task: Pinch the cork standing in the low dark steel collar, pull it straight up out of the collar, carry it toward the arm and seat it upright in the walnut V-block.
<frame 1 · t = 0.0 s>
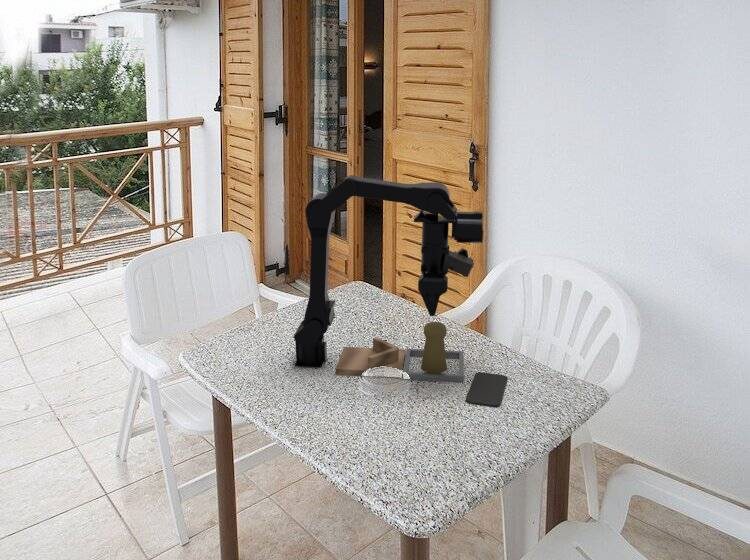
hand: (432, 308, 162), 15 cm above the table, fingers open, 9 cm apart
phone: (487, 391, 157), on the table
walnut v-block: (367, 364, 168), on the table
cork: (433, 368, 167), resting in steel collar
steel collar: (433, 367, 167), on the table
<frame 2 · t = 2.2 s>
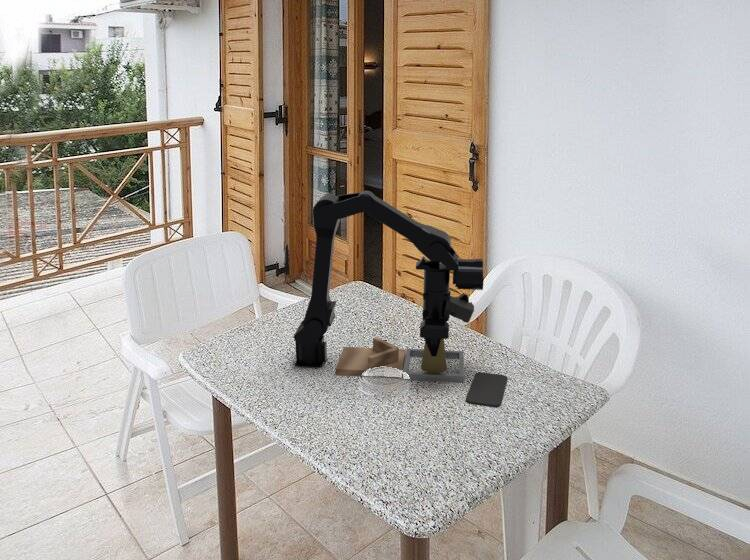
hand: (434, 351, 165), 4 cm above the table, fingers closed on cork, 4 cm apart
cork: (433, 368, 167), resting in steel collar, touching gripper
everything else where it was.
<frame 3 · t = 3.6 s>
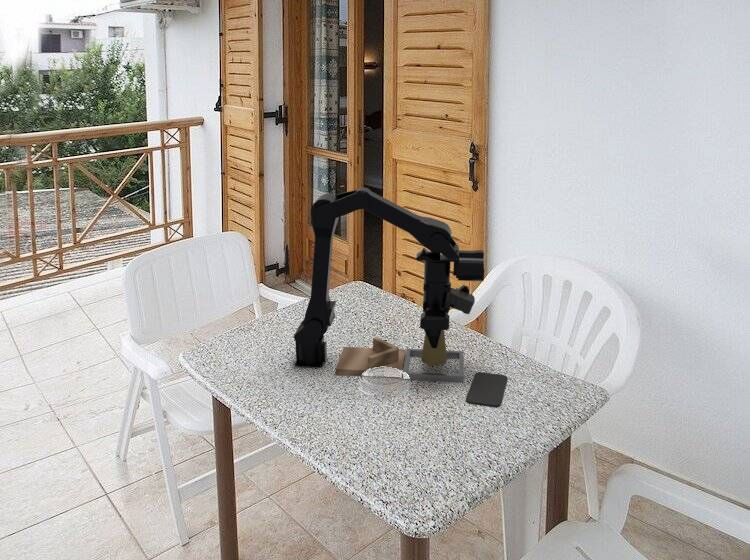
hand: (434, 343, 165), 6 cm above the table, fingers closed on cork, 4 cm apart
cork: (434, 360, 166), point 2 cm above the table, touching gripper
everything else where it was.
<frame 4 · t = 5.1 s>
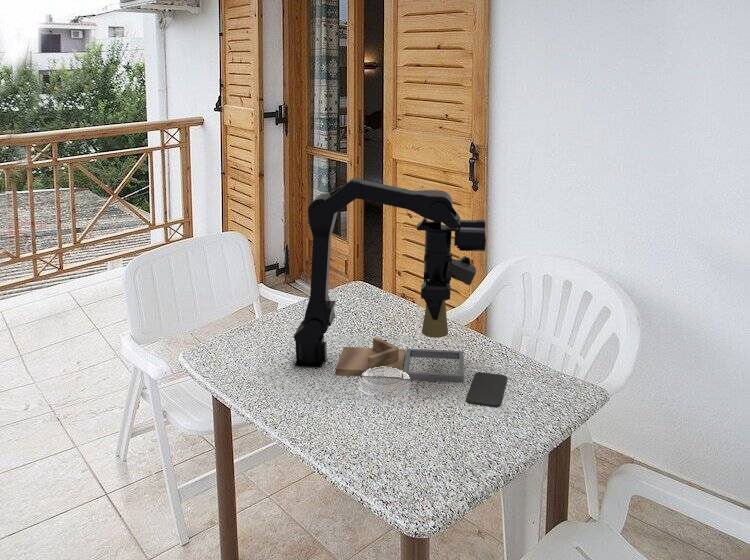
hand: (435, 316, 162), 13 cm above the table, fingers closed on cork, 4 cm apart
cork: (434, 333, 164), point 9 cm above the table, touching gripper
everything else where it was.
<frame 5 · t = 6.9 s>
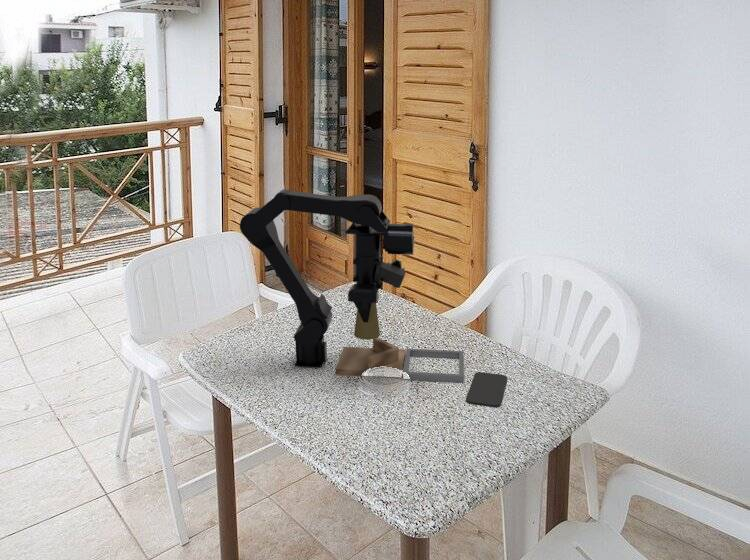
hand: (366, 318, 164), 12 cm above the table, fingers closed on cork, 4 cm apart
cork: (366, 335, 166), point 7 cm above the table, touching gripper
everything else where it was.
when the fingers open (6 cm above the table, at t = 8.4 s): cork stays where it is, resting on walnut v-block.
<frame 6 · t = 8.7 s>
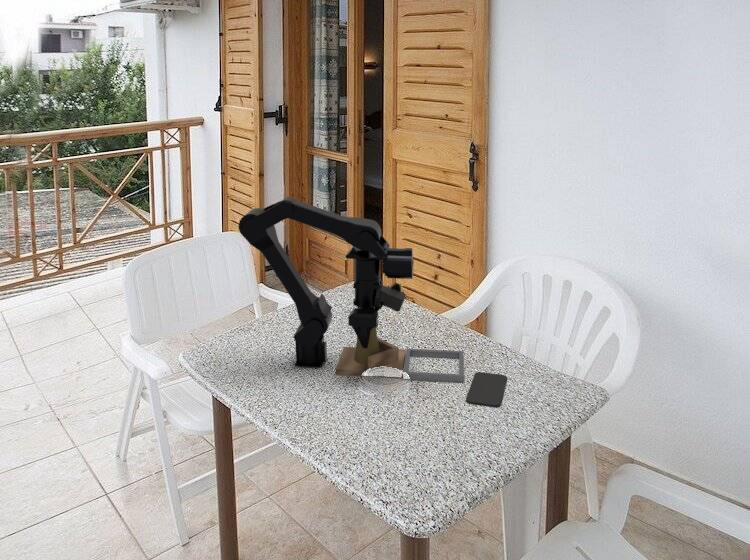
hand: (367, 340, 166), 6 cm above the table, fingers open, 8 cm apart
cork: (367, 359, 168), point 1 cm above the table, touching walnut v-block
everything else where it was.
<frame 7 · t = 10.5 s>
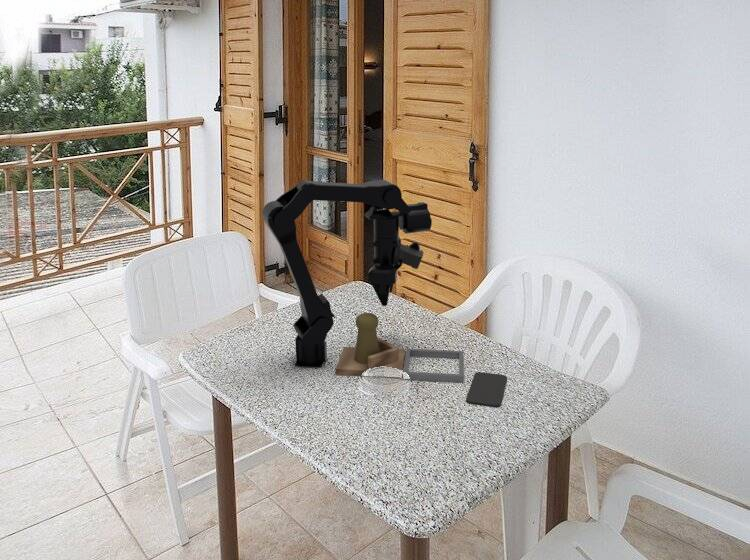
hand: (387, 298, 171), 13 cm above the table, fingers open, 9 cm apart
nothing on the table moved.
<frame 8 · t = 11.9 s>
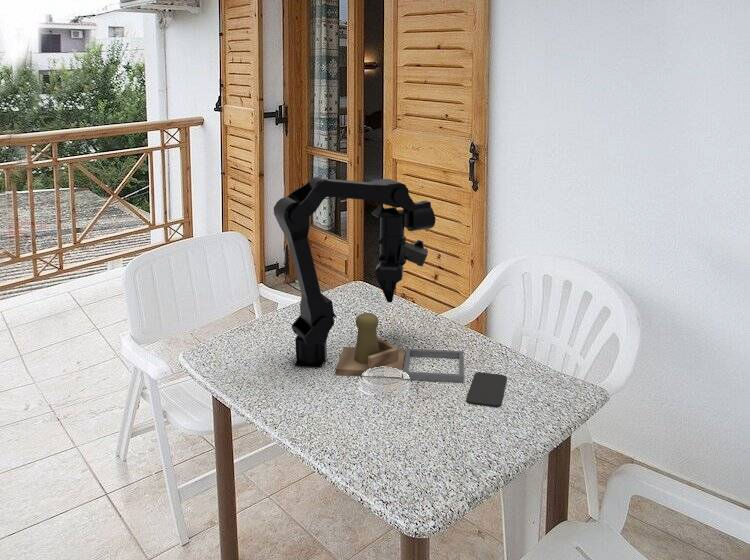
hand: (391, 295, 175), 13 cm above the table, fingers open, 9 cm apart
nothing on the table moved.
at the end: cork 0.1 cm off-centre on the walnut v-block, point 1.3 cm above the walnut v-block's base; cork tilted 0°; the gripper is holding nothing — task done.
